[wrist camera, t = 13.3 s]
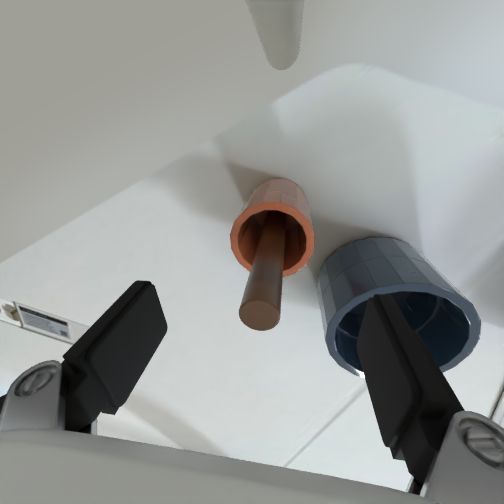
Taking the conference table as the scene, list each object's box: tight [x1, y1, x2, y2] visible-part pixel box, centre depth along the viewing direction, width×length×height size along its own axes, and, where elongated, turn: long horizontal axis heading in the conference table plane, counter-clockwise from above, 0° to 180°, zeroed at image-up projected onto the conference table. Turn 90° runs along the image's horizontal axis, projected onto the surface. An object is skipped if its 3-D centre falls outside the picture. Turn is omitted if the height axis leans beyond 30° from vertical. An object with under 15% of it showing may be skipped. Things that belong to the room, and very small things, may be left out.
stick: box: [239, 210, 287, 331], centre depth 18 cm, size 2×2×16 cm
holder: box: [230, 178, 315, 277], centre depth 21 cm, size 6×6×9 cm
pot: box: [317, 237, 481, 378], centre depth 24 cm, size 12×12×9 cm
